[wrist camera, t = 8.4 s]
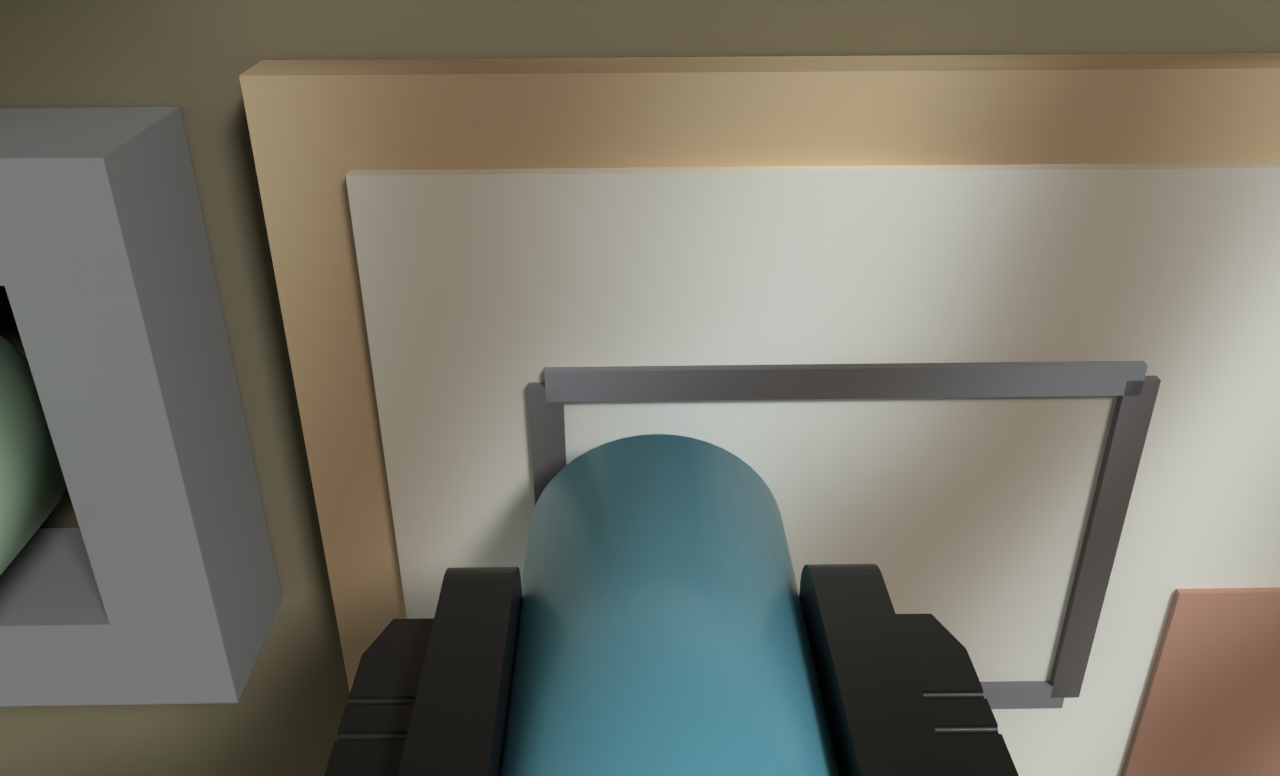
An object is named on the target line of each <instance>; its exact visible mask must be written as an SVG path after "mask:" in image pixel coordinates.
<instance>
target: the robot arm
mask: <svg viewBox="0 0 1280 776" xmlns="http://www.w3.org/2000/svg"><path fill="white" fill-rule="evenodd" d="M799 599H800V603H801V608H802V612H803V617H804V621H805V625H806V630H807V634H808V639H809V643H810V647H811V652H812V656H813V661H814V665H815V669H816V674H817V678H818V683H819V687H820V691H821V696H822V700H823V705H824V709H825V713H826V718H827V722H828V727H829V731H830V736H831V740H832V744H833V749H834V753H835V758H836V762H837V766H838V771H839V775H840V776H1019V775H1018V773H1017V770H1016V768H1015V765H1014V763H1013V760H1012V758H1011V756H1010V753H1009V751H1008V748H1007V746H1006V744H1005V741H1004V739H1003V736H1002V734H999V733H998V724H997V722H996V719H995V717H994V714H993V712H992V710H991V707H990V705H989V702H988V700H987V699H984V695H983V691H984V690H983V688H982V685H981V683H980V681H979V678H978V676H977V673H976V671H975V668H974V666H973V664H972V661H971V659H970V656H969V654H968V652H967V649H966V648H965V647H964V646H963V645H962V644H961V643H960V642H959V641H958V640H957V639H956V638H955V637H954V636H953V635H952V634H951V633H950V632H949V631H948V630H947V629H946V628H945V627H944V626H943V625H942V624H941V623H940V622H939V621H938V620H937V619H936V618H935V617H934V616H933V615H932V614H895V611H894V608H893V605H892V602H891V599H890V596H889V593H888V590H887V588H886V585H885V582H884V579H883V576H882V573H881V571H880V569H879V567H878V566H877V565H876V564H807V565H804V567H803V570H802V574H801V581H800V591H799ZM521 604H522V586H521V576H520V570H519V568H518V567H459V568H447V570H446V572H445V574H444V578H443V582H442V586H441V591H440V595H439V599H438V604H437V608H436V612H435V617H434V618H420V619H393V620H392V621H391V622H390V623H389V625H388V626H387V627H386V628H385V629H384V630H383V631H382V632H381V634H380V635H379V636H378V637H377V638H376V639H375V640H374V642H373V643H372V644H371V645H370V646H369V647H368V648H367V650H366V651H365V652H364V653H363V654H362V656H361V659H360V662H359V665H358V669H357V672H356V675H355V678H354V682H353V685H352V688H351V691H350V695H349V704H348V706H346V708H345V711H344V714H343V717H342V721H341V724H340V727H339V730H338V741H335V743H334V747H333V750H332V753H331V757H330V760H329V763H328V766H327V770H326V773H325V776H500V772H501V764H502V756H503V748H504V740H505V732H506V724H507V716H508V708H509V700H510V692H511V684H512V676H513V668H514V660H515V652H516V644H517V636H518V628H519V620H520V612H521Z"/></svg>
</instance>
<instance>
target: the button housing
mask: <svg viewBox="0 0 1280 776" xmlns="http://www.w3.org/2000/svg"><path fill="white" fill-rule="evenodd" d="M0 286H5V289H6V292H7V295H8V299H9V302H10V305H11V308H12V311H13V315H14V318H15V321H16V324H17V328H18V331H19V334H20V337H21V341H22V344H23V347H24V350H25V353H26V357H27V360H28V363H29V366H30V370H31V373H32V376H33V379H34V382H35V386H36V389H37V392H38V395H39V399H40V402H41V405H42V408H43V411H44V415H45V418H46V421H47V424H48V428H49V431H50V434H51V437H52V440H53V444H54V447H55V450H56V453H57V457H58V460H59V463H60V466H61V469H62V473H63V476H64V479H65V482H66V486H67V489H68V492H69V495H70V498H71V502H72V505H73V508H74V511H75V515H76V518H77V521H78V524H79V527H80V528H39V529H38V530H37V531H36V532H35V534H34V535H33V536H32V537H31V538H30V540H29V541H28V542H27V543H26V545H25V546H24V547H23V548H22V550H21V551H20V552H19V553H18V554H17V556H16V557H15V558H14V559H13V561H12V562H11V563H10V564H9V566H8V567H7V568H6V569H5V570H4V572H3V573H2V574H1V575H0V706H63V705H130V704H196V703H238V702H239V700H240V697H241V695H242V693H243V690H244V688H245V686H246V683H247V681H248V679H249V676H250V674H251V672H252V669H253V667H254V665H255V662H256V660H257V658H258V655H259V653H260V651H261V648H262V646H263V644H264V641H265V639H266V637H267V634H268V632H269V630H270V627H271V625H272V623H273V620H274V618H275V616H276V613H277V611H278V609H279V606H280V604H281V602H282V596H281V591H280V587H279V582H278V577H277V572H276V567H275V562H274V558H273V553H272V548H271V543H270V538H269V534H268V529H267V524H266V519H265V514H264V510H263V505H262V500H261V495H260V490H259V485H258V481H257V476H256V471H255V466H254V461H253V457H252V452H251V447H250V442H249V437H248V432H247V428H246V423H245V418H244V413H243V408H242V404H241V399H240V394H239V389H238V384H237V380H236V375H235V370H234V365H233V360H232V355H231V351H230V346H229V341H228V336H227V331H226V327H225V322H224V317H223V312H222V307H221V302H220V298H219V293H218V288H217V283H216V278H215V274H214V269H213V264H212V259H211V254H210V250H209V245H208V240H207V235H206V230H205V225H204V221H203V216H202V211H201V206H200V201H199V197H198V192H197V187H196V182H195V177H194V173H193V168H192V163H191V158H190V153H189V148H188V144H187V139H186V134H185V129H184V124H183V120H182V115H181V110H180V107H70V108H0Z"/></svg>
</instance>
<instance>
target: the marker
mask: <svg viewBox="0 0 1280 776" xmlns="http://www.w3.org/2000/svg"><path fill="white" fill-rule="evenodd" d="M500 776H840V775H839V771H838V766H837V762H836V758H835V753H834V749H833V744H832V740H831V736H830V731H829V727H828V722H827V718H826V713H825V709H824V705H823V700H822V696H821V691H820V687H819V683H818V678H817V674H816V669H815V665H814V661H813V656H812V652H811V647H810V643H809V639H808V634H807V630H806V625H805V621H804V617H803V612H802V608H801V603H800V599H799V592H798V588H797V583H796V579H795V575H794V570H793V566H792V561H791V557H790V553H789V548H788V544H787V539H786V535H785V531H784V526H783V522H782V517H781V514H780V511H779V508H778V505H777V502H776V500H775V498H774V496H773V494H772V492H771V490H770V489H769V487H768V486H767V485H766V483H765V482H764V481H763V479H762V478H761V477H760V476H759V475H758V474H757V473H756V472H755V471H754V470H753V469H752V468H751V467H750V466H749V465H748V464H746V463H745V462H744V461H742V460H741V459H740V458H739V457H737V456H735V455H734V454H732V453H730V452H728V451H727V450H725V449H723V448H721V447H718V446H716V445H713V444H711V443H709V442H705V441H702V440H698V439H695V438H691V437H685V436H679V435H667V434H649V435H637V436H632V437H626V438H621V439H618V440H615V441H611V442H608V443H605V444H603V445H600V446H598V447H596V448H593V449H591V450H589V451H587V452H586V453H584V454H582V455H580V456H579V457H577V458H575V459H574V460H573V461H571V462H570V463H569V464H568V465H566V466H565V467H564V468H562V469H561V470H560V471H559V472H558V474H557V475H556V476H555V477H554V478H553V479H552V480H551V481H550V482H549V484H548V485H547V486H546V488H545V489H544V490H543V492H542V494H541V496H540V497H539V499H538V501H537V503H536V505H535V508H534V511H533V514H532V517H531V521H530V527H529V533H528V540H527V548H526V556H525V564H524V571H523V579H522V604H521V612H520V620H519V628H518V636H517V644H516V652H515V660H514V668H513V676H512V684H511V692H510V700H509V708H508V716H507V724H506V732H505V740H504V748H503V756H502V764H501V772H500Z"/></svg>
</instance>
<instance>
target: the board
mask: <svg viewBox="0 0 1280 776" xmlns="http://www.w3.org/2000/svg"><path fill="white" fill-rule="evenodd" d="M239 77H240V83H241V89H242V94H243V100H244V105H245V111H246V117H247V122H248V128H249V133H250V139H251V145H252V150H253V156H254V161H255V167H256V173H257V178H258V184H259V189H260V195H261V200H262V206H263V212H264V217H265V223H266V228H267V234H268V240H269V245H270V251H271V256H272V262H273V268H274V273H275V279H276V284H277V290H278V295H279V301H280V307H281V312H282V318H283V323H284V329H285V335H286V340H287V346H288V351H289V357H290V363H291V368H292V374H293V379H294V385H295V391H296V396H297V402H298V407H299V413H300V418H301V424H302V430H303V435H304V441H305V446H306V452H307V458H308V463H309V469H310V474H311V480H312V486H313V491H314V497H315V502H316V508H317V513H318V519H319V525H320V530H321V536H322V541H323V547H324V553H325V558H326V564H327V569H328V575H329V581H330V586H331V592H332V597H333V603H334V608H335V614H336V620H337V625H338V631H339V636H340V642H341V648H342V653H343V659H344V664H345V670H346V676H347V681H348V687H349V692H350V691H351V688H352V685H353V682H354V678H355V675H356V672H357V669H358V665H359V662H360V659H361V656H362V654H363V653H364V652H365V651H366V650H367V648H368V647H369V646H370V645H371V644H372V643H373V642H374V640H375V639H376V638H377V637H378V636H379V635H380V634H381V632H382V631H383V630H384V629H385V628H386V627H387V626H388V625H389V623H390V622H391V621H392V620H393V619H420V618H434V617H435V612H436V608H437V604H438V599H439V595H440V591H441V586H442V582H443V578H444V574H445V572H446V570H447V568H459V567H518V568H519V570H520V576H521V586H522V579H523V571H524V564H525V556H526V548H527V540H528V533H529V527H530V521H531V517H532V514H533V511H534V508H535V505H536V503H537V501H538V499H539V497H540V496H541V494H542V492H543V490H544V489H545V488H546V486H547V485H548V484H549V482H550V481H551V480H552V479H553V478H554V477H555V476H556V475H557V474H558V472H559V471H560V470H561V469H562V468H564V467H565V466H566V465H568V464H569V463H570V462H571V461H573V460H574V459H575V458H577V457H579V456H580V455H582V454H584V453H586V452H587V451H589V450H591V449H593V448H596V447H598V446H600V445H603V444H605V443H608V442H611V441H615V440H618V439H621V438H626V437H632V436H637V435H649V434H667V435H679V436H685V437H691V438H695V439H698V440H702V441H705V442H709V443H711V444H713V445H716V446H718V447H721V448H723V449H725V450H727V451H728V452H730V453H732V454H734V455H735V456H737V457H739V458H740V459H741V460H742V461H744V462H745V463H746V464H748V465H749V466H750V467H751V468H752V469H753V470H754V471H755V472H756V473H757V474H758V475H759V476H760V477H761V478H762V479H763V481H764V482H765V483H766V485H767V486H768V487H769V489H770V490H771V492H772V494H773V496H774V498H775V500H776V502H777V505H778V508H779V511H780V514H781V517H782V522H783V526H784V531H785V535H786V539H787V544H788V548H789V553H790V557H791V561H792V566H793V570H794V575H795V579H796V583H797V588H798V592H799V591H800V581H801V574H802V570H803V567H804V565H807V564H876V565H877V566H878V567H879V569H880V571H881V573H882V576H883V579H884V582H885V585H886V588H887V590H888V593H889V596H890V599H891V602H892V605H893V608H894V611H895V614H932V615H933V616H934V617H935V618H936V619H937V620H938V621H939V622H940V623H941V624H942V625H943V626H944V627H945V628H946V629H947V630H948V631H949V632H950V633H951V634H952V635H953V636H954V637H955V638H956V639H957V640H958V641H959V642H960V643H961V644H962V645H963V646H964V647H965V648H966V649H967V652H968V654H969V656H970V659H971V661H972V664H973V666H974V668H975V671H976V673H977V676H978V678H979V681H980V683H981V685H982V688H983V690H984V691H983V695H984V699H987V700H988V702H989V705H990V707H991V710H992V712H993V714H994V717H995V719H996V722H997V724H998V733H999V734H1002V736H1003V739H1004V741H1005V744H1006V746H1007V748H1008V751H1009V753H1010V756H1011V758H1012V760H1013V763H1014V765H1015V768H1016V770H1017V773H1018V775H1019V776H1280V53H1198V54H1054V55H910V56H767V57H623V58H479V59H336V60H262V61H260V62H259V63H257V64H256V65H254V66H253V67H251V68H250V69H248V70H247V71H246V72H244V73H243V74H241V75H240V76H239Z"/></svg>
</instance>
